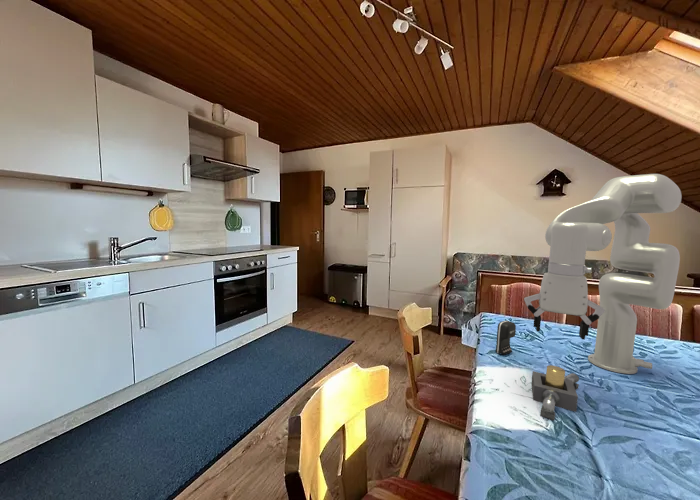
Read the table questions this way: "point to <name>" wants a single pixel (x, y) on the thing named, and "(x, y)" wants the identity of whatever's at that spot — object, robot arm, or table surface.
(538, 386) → the grey square frame
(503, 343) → the battery charger
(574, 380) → the shaft
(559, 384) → the yellow cylinder
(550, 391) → the shaft
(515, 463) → the table surface
